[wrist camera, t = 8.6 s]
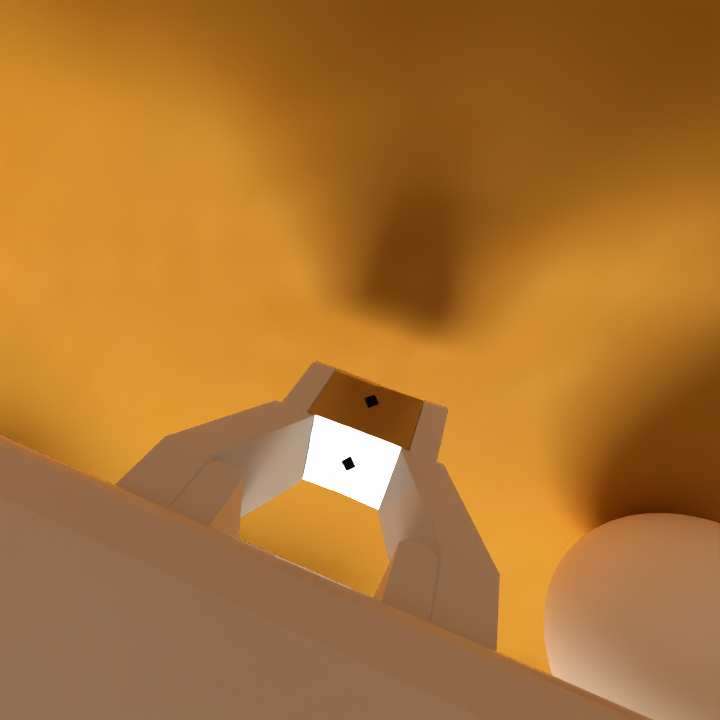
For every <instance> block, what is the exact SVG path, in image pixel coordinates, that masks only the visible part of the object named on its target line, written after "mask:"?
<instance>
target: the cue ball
mask: <svg viewBox="0 0 720 720" xmlns="http://www.w3.org/2000/svg"><path fill="white" fill-rule="evenodd" d="M544 639H545V646H546V652H547V657H548V662H549V666H550V669H551V673H552V676H554V677H557V678H559V679H561V680H563V681H566V682H568V683H570V684H573V685H575V686H577V687H580V688H582V689H584V690H586V691H589V692H591V693H593V694H596V695H598V696H600V697H602V698H605V699H607V700H609V701H612V702H614V703H616V704H619V705H621V706H623V707H625V708H628V709H630V710H632V711H635V712H637V713H639V714H641V715H644V716H646V717H648V718H651V719H653V720H720V523H717V522H714V521H711V520H707V519H703V518H699V517H694V516H689V515H682V514H673V513H644V514H638V515H631V516H625V517H622V518H619V519H616V520H613V521H609V522H607V523H605V524H603V525H601V526H599V527H597V528H594V529H593V530H592V531H590V532H589V533H587V534H586V535H584V536H583V537H582V538H580V539H579V540H578V541H577V542H576V543H575V544H574V545H573V546H572V547H571V548H570V549H569V550H568V551H567V553H566V554H565V555H564V557H563V558H562V559H561V561H560V563H559V564H558V566H557V568H556V570H555V572H554V574H553V576H552V579H551V582H550V585H549V588H548V591H547V596H546V601H545V609H544Z"/></svg>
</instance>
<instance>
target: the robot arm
mask: <svg viewBox="0 0 720 720" xmlns="http://www.w3.org/2000/svg"><path fill="white" fill-rule="evenodd" d="M447 413H448V409H447V407H444V406H441V405H438V404H435V403H432V402H429V401H426V400H424V401H423V400H420V399H418V398H415V397H412V396H409V395H406V394H403V393H401V392H398V391H395V390H392V389H389V388H387V387H384V386H381V385H379V384H377V383H374V382H372V381H369V380H366V379H364V378H361V377H359V376H356V375H353V374H351V373H348V372H346V371H343V370H340V369H337V368H335V367H332V366H329V365H327V364H324V363H321V362H318V361H316V362H314V363H312V364H311V365H310V367H309V368H308V369H307V371H306V372H305V373H304V375H303V376H302V377H301V378H300V380H299V381H298V382H297V384H296V385H295V386H294V388H293V389H292V390H291V391H290V393H289V394H288V395H287V397H286V398H285V399H284V401H283V402H282V403H281V402H278V401H272V402H269V403H266V404H263V405H260V406H257V407H254V408H251V409H248V410H245V411H242V412H239V413H236V414H233V415H230V416H227V417H224V418H221V419H217V420H214V421H211V422H208V423H205V424H202V425H199V426H196V427H193V428H190V429H187V430H184V431H181V432H178V433H175V434H172V435H169V436H166V437H164V438H163V439H162V440H161V441H160V442H159V443H158V444H157V445H156V446H155V447H154V448H153V449H152V450H151V451H150V452H149V453H148V454H147V455H146V456H145V457H144V458H143V459H142V460H141V461H140V462H138V463H137V464H136V465H135V466H134V467H133V468H132V469H131V470H130V471H129V472H128V473H127V474H126V475H125V476H124V477H123V478H122V479H121V480H120V481H119V482H118V483H117V484H116V485H114V484H111V483H109V482H107V481H104V480H102V479H100V478H98V477H95V476H93V475H91V474H88V473H86V472H84V471H81V470H79V469H77V468H75V467H72V466H70V465H68V464H65V463H63V462H61V461H59V460H56V459H54V458H52V457H49V456H47V455H45V454H42V453H40V452H38V451H36V450H33V449H31V448H29V447H26V446H24V445H22V444H20V443H17V442H15V441H13V440H10V439H8V438H6V437H4V436H1V435H0V720H653V719H651V718H648V717H646V716H644V715H641V714H639V713H637V712H635V711H632V710H630V709H628V708H625V707H623V706H621V705H619V704H616V703H614V702H612V701H609V700H607V699H605V698H602V697H600V696H598V695H596V694H593V693H591V692H589V691H586V690H584V689H582V688H580V687H577V686H575V685H573V684H570V683H568V682H566V681H563V680H561V679H559V678H557V677H554V676H552V675H550V674H547V673H545V672H543V671H541V670H538V669H536V668H534V667H531V666H529V665H527V664H525V663H522V662H520V661H518V660H515V659H513V658H511V657H508V656H506V655H504V654H502V653H499V652H497V651H496V650H497V625H498V601H499V577H500V574H499V572H498V570H497V568H496V566H495V564H494V562H493V561H492V559H491V557H490V555H489V553H488V551H487V549H486V547H485V545H484V543H483V541H482V539H481V537H480V535H479V533H478V531H477V529H476V527H475V525H474V523H473V521H472V519H471V517H470V515H469V513H468V511H467V509H466V507H465V505H464V503H463V501H462V499H461V497H460V496H459V494H458V492H457V490H456V488H455V486H454V484H453V482H452V480H451V478H450V476H449V474H448V472H447V470H446V468H445V466H444V465H443V464H441V463H439V462H437V458H438V454H439V449H440V445H441V440H442V436H443V431H444V427H445V422H446V417H447ZM302 479H305V480H308V481H310V482H313V483H316V484H318V485H321V486H324V487H326V488H329V489H332V490H334V491H337V492H340V493H342V494H344V495H347V496H349V497H351V498H354V499H356V500H358V501H360V502H363V503H365V504H367V505H370V506H372V507H374V508H377V509H378V514H379V519H380V523H381V527H382V531H383V535H384V540H385V544H386V548H387V552H388V557H389V561H390V563H389V565H388V567H387V569H386V572H385V574H384V576H383V578H382V580H381V583H380V585H379V587H378V589H377V591H376V594H375V596H374V598H373V597H370V596H368V595H366V594H363V593H361V592H359V591H356V590H354V589H352V588H350V587H347V586H345V585H343V584H340V583H338V582H336V581H333V580H331V579H329V578H327V577H324V576H322V575H320V574H317V573H315V572H313V571H310V570H308V569H306V568H304V567H301V566H299V565H297V564H294V563H292V562H290V561H288V560H285V559H283V558H281V557H278V556H276V555H274V554H272V553H269V552H267V551H265V550H262V549H260V548H258V547H256V546H253V545H251V544H249V543H246V542H244V541H242V540H240V539H239V529H240V518H241V517H243V516H245V515H246V514H248V513H250V512H251V511H253V510H254V509H256V508H258V507H259V506H261V505H263V504H264V503H266V502H268V501H269V500H271V499H273V498H274V497H276V496H278V495H279V494H281V493H283V492H284V491H286V490H288V489H289V488H291V487H293V486H294V485H296V484H297V483H299V482H301V481H302Z"/></svg>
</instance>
